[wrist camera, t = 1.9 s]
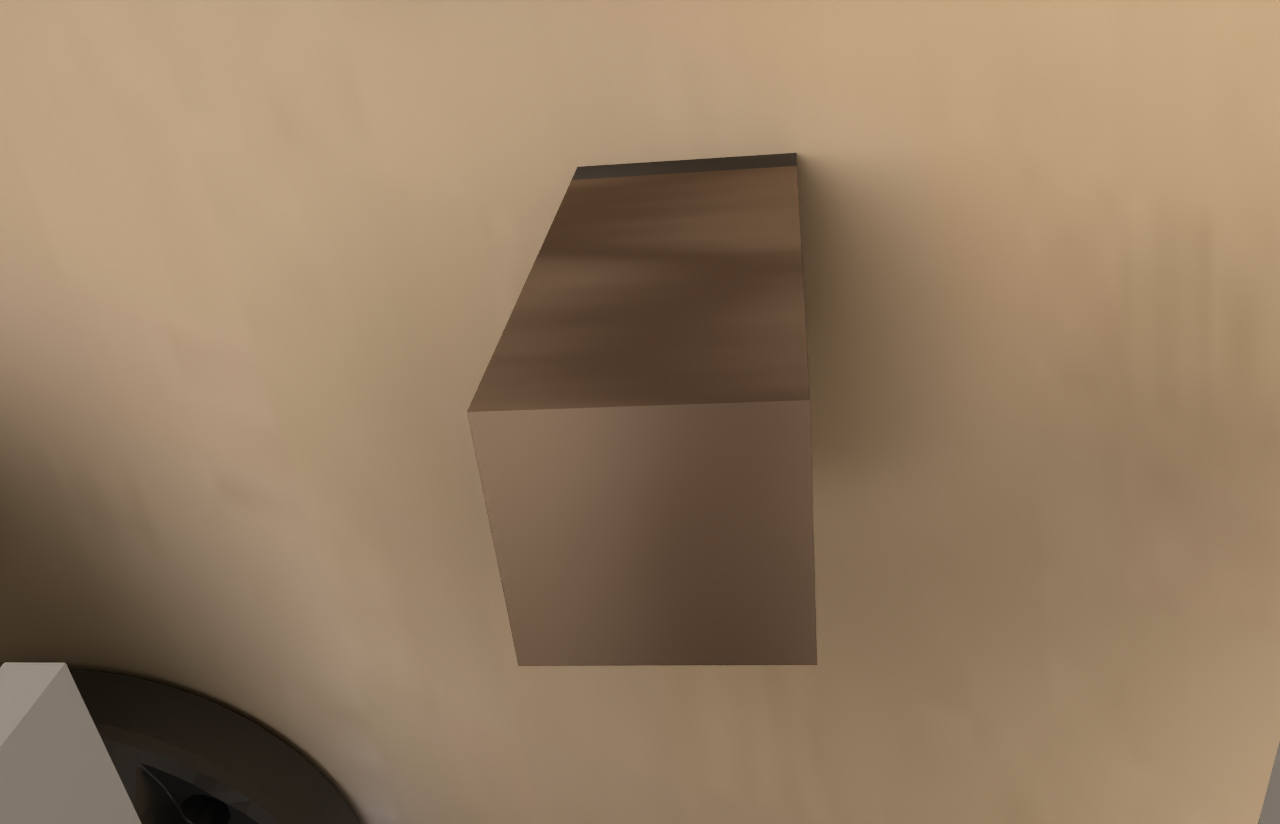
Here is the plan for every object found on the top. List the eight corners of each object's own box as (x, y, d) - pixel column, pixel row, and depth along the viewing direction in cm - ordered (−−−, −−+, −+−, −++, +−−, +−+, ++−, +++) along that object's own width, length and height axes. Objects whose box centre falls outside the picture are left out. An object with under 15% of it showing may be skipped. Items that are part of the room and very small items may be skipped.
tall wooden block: (602, 358, 26) (518, 665, 17) (577, 167, 24) (467, 412, 15) (801, 350, 25) (816, 664, 17) (796, 152, 23) (809, 400, 14)
